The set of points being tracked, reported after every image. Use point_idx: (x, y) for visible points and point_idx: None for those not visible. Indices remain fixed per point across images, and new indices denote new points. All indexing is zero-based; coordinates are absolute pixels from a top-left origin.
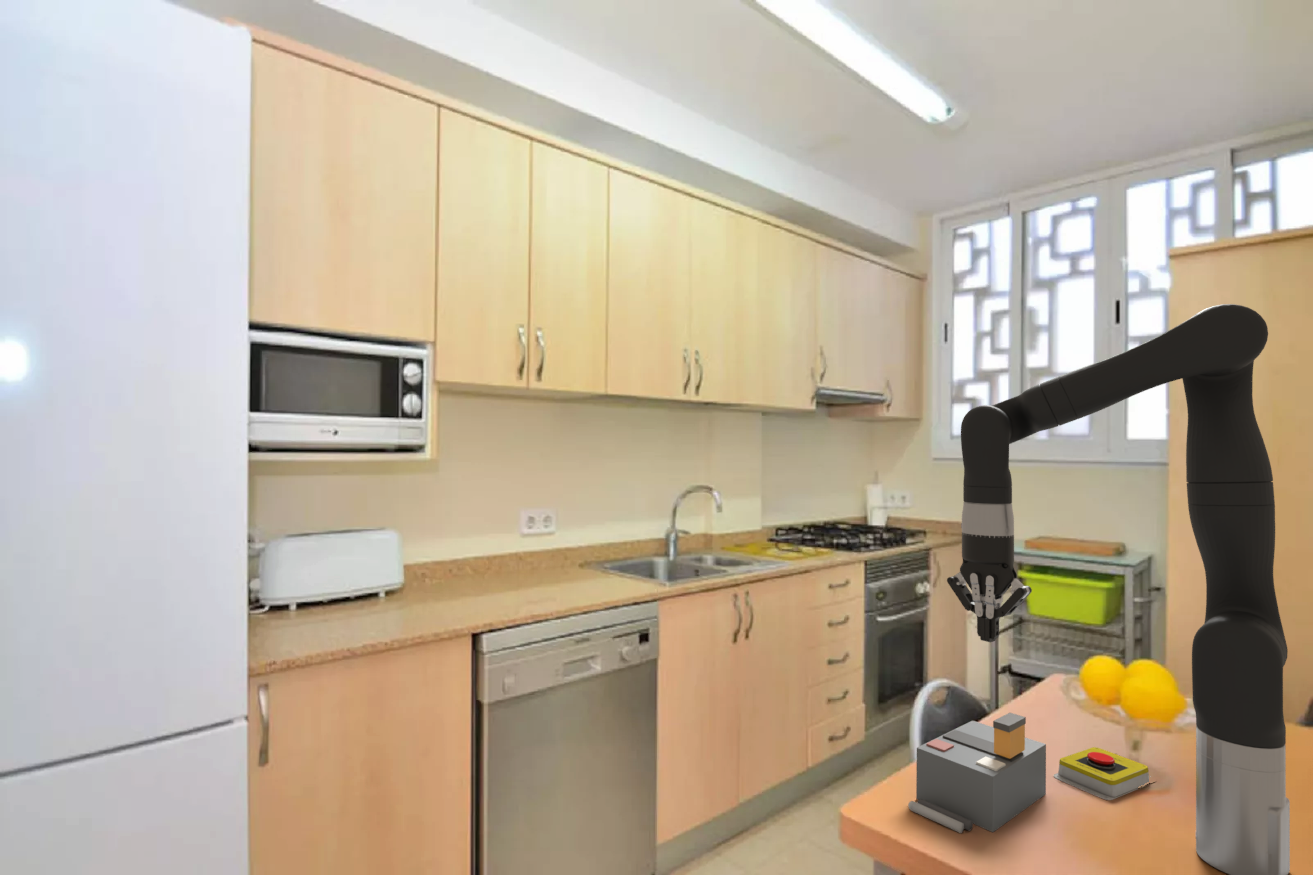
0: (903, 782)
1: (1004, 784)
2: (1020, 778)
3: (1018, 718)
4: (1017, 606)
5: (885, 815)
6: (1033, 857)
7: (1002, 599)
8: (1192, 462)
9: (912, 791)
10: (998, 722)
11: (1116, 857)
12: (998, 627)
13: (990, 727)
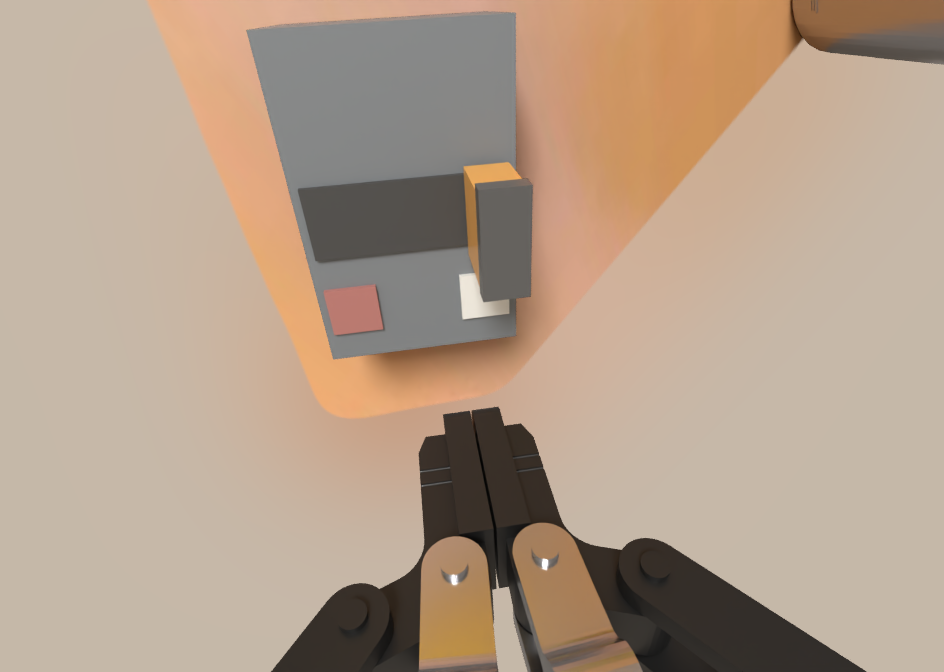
0: (274, 266)
1: None
2: None
3: (521, 217)
4: (765, 619)
5: (358, 380)
6: (568, 290)
7: (636, 668)
8: None
9: None
10: (498, 299)
11: (666, 171)
12: (545, 480)
13: (327, 39)
